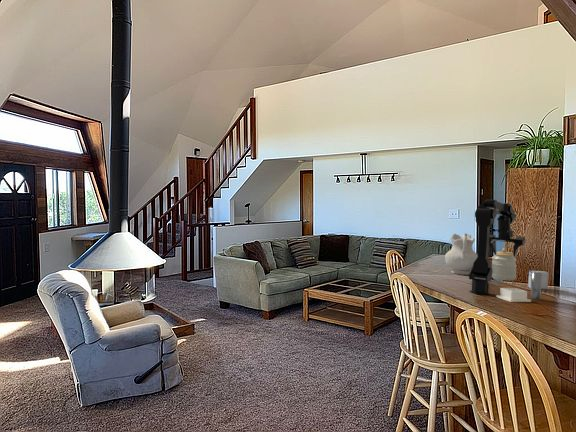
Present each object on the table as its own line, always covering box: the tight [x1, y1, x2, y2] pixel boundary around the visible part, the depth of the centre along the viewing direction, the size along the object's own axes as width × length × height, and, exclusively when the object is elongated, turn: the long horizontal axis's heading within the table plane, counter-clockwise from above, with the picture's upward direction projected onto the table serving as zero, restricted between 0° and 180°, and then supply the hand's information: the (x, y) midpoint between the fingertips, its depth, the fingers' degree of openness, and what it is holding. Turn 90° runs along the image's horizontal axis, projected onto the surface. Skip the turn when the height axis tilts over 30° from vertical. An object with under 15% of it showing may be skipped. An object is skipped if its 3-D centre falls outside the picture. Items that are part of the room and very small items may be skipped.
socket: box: [495, 287, 532, 303], centre depth 196 cm, size 10×10×4 cm
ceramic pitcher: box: [444, 232, 478, 276], centre depth 268 cm, size 22×20×25 cm
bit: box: [529, 272, 542, 301], centre depth 197 cm, size 4×4×12 cm
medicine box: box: [527, 270, 550, 290], centre depth 225 cm, size 8×4×9 cm, turn 84°
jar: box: [491, 247, 517, 281], centre depth 253 cm, size 13×13×18 cm
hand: (504, 255), depth 232 cm, fingers open, 9 cm apart
